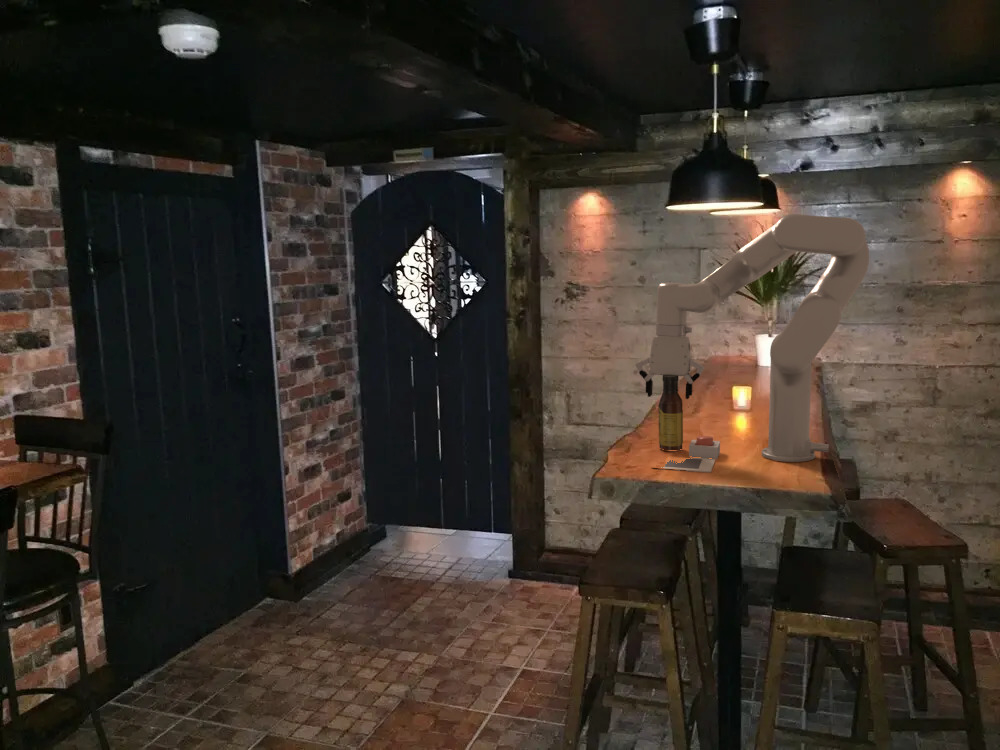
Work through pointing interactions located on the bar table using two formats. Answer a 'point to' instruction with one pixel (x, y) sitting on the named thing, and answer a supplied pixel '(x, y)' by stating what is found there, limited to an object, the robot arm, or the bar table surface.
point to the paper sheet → (692, 465)
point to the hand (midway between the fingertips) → (668, 397)
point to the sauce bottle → (670, 415)
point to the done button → (705, 440)
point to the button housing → (704, 450)
